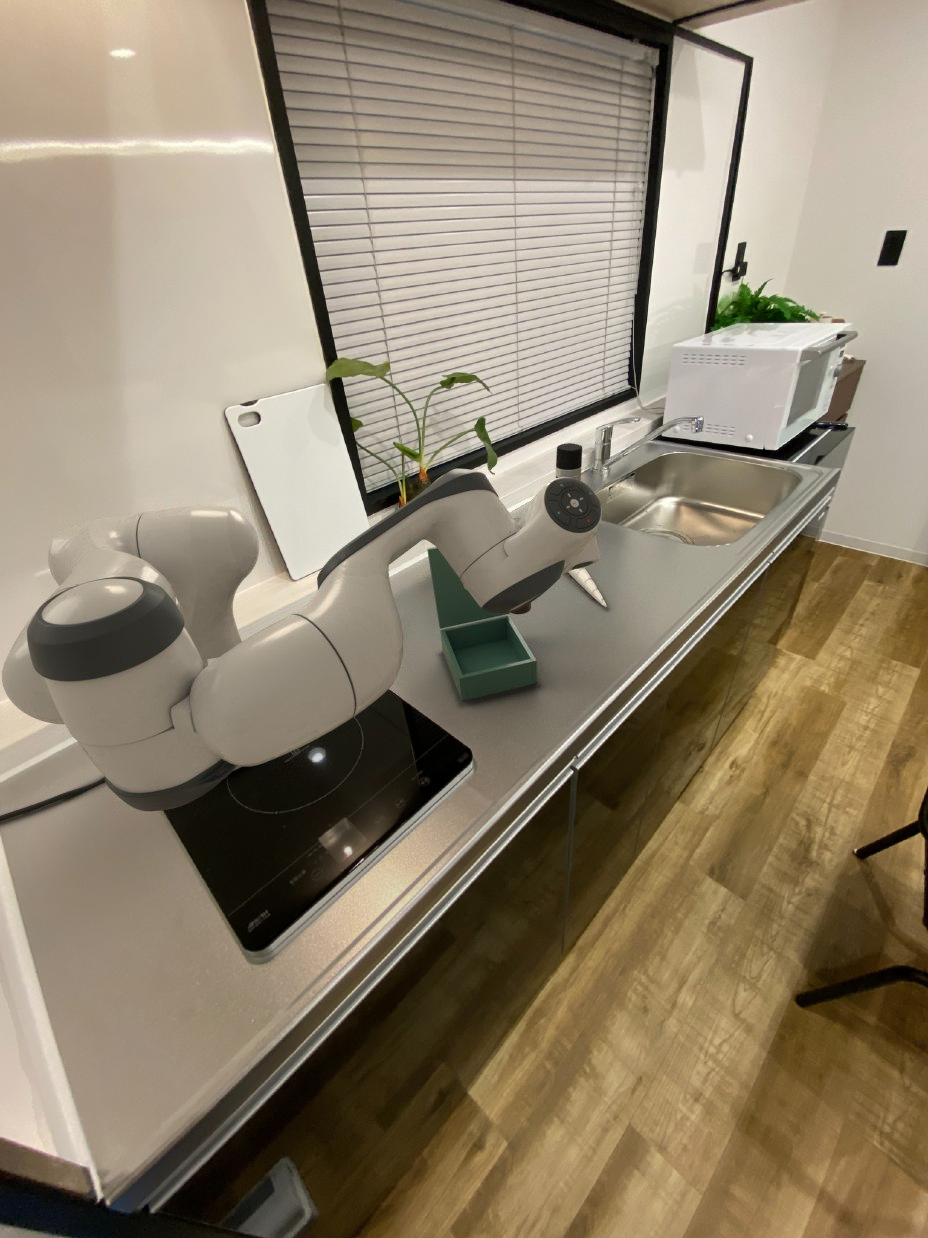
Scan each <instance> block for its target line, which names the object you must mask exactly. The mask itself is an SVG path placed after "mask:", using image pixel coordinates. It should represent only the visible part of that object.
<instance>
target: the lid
mask: <svg viewBox="0 0 928 1238" xmlns="http://www.w3.org/2000/svg"><path fill="white" fill-rule="evenodd" d="M426 551H427V557H428V558H427V559H428V563H429V570H430V571H429V572H430V576H431V583H432V589H433V596H434V603H435V608H436V615H437V621H438V627H439V629H440V630H442V629H447V628H451V627H456V626H461V625H465V624H470V623H475V622H479V621H484V620H488V619H493V618H498V617H502V616H507V615H510V614H511V613H493V612H488V611H485V610H482V609H481V607H480V606H479V605H478V603H477V602H476V601H475V599H474V598H473V597H472V595H471V594H470V593H469V591H468V590H466V589H465V588H464V586H463V583H462V582H461V580H460V578H459V577H458V575H457V574H456V573H455V571H454V570H453V568H452V567H451V566H450V564H449V563H448V562H447V560H446V559H445V558H444V556H443V555H442V553H441V552H440V551H439V549H438V548H437V547H436V546H434V547H429V548H426Z"/></svg>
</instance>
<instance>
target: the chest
mask: <svg viewBox="0 0 928 1238" xmlns="http://www.w3.org/2000/svg"><path fill="white" fill-rule="evenodd" d="M439 632H440V633H439V634H440V639H441V649H442V653H443V655H444V659H445V661H446V663H447V666H448V668H449V671H450V674H451V676H452V679H453V682H454V685H455V687H456V690H457V693H458V696H459V698H460V700H461V702H463V701H468V700H472V699H477V698H480V697H485V696H489V695H493V694H497V693H500V692H505V691H510V690H514V689H517V688H521V687H526V686H530V685H534V684H537V683H538V674H537V673H538V672H537V671H538V665H537V664H538V661H537V659H536V657H535V655H534V654H533V652H532V651H531V649H530V647H529V645H528V644H527V642H526V641H525V639H524V638H523V636H522V634H521V633H520V631H519V629H518V627H517V626H516V624H515V623H514V621H513V619H512V617H511V616H510V614H506V615H501V616H497V617H492V618H488V619H483V620H478V621H474V622H469V623H465V624H460V625H455V626H451V627H446V628H442V629H440V630H439Z"/></svg>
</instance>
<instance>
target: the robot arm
mask: <svg viewBox="0 0 928 1238" xmlns="http://www.w3.org/2000/svg"><path fill="white" fill-rule="evenodd" d="M602 517H603V510H602V505H601V502H600V499H599V497H598V496H597V494H596V493H595V492H594V491H593V489H592V488H591V487H590V486H589V485H588V484H586V483H585V482H583V481H582V480H581V481H580V480H577V479H574V478H570V477H560V478H556V477H555V478H554V479H552V480H550V481H549V482H547V484H545V485H544V486H543V487H542V488H541V489H540V490H539V491H538V492H537V493H536V494H535V496H534V497H533V498H532V499H531V501H530V502H529V503H528V505H527V506H526V507H525V509H524V510H523V513H522V515H521V517H520V518H521V519H520V521H519V522H518V523H517V522H516V520H515V519H514V518H515V517H514V516H513V515H512V513H511V512H510V511H509V510H508V509H507V507H506V505H504V503H503V502H502V500H501V499H500V497H499V495H498V493H497V491H496V490H495V488H494V487H493V485H492V483H491V481H490V480H489V478H488V477H487V475H486V474H485V473H483V472H481V471H478V470H473V469H467V468H453V469H451V470H449V471H447V472H446V473H444V474H442V475H441V476H440V477H438V478H437V479H436V480H435V481H433V482H432V483H431V484H430V485H429V486H428V487H426V488H425V489H424V490H423V491H422V492H420V493H419V494H418V495H416V496H415V497H414V498H412V499H410V500H409V501H408V502H407V503H405V504H404V505H402V506H400V507H399V508H398V509H396V510H395V511H393V512H391V513H390V514H388V515H387V516H385V517H384V518H382V519H381V520H379V521H378V522H376V523H375V524H374V525H371V526H370V527H369V528H368V529H366V530H365V531H363V532H362V533H360V534H359V535H358V536H356V537H354V538H353V539H352V540H350V541H349V542H348V543H346V544H345V545H343V546H342V547H341V548H340V549H339V550H338V551H336V552H335V553H334V554H333V555H332V556H331V557H330V558H329V559H328V561H327V562H326V563H325V564H324V565H323V567H322V568H321V570H320V571H319V573H318V575H317V577H316V583H317V585H316V586H317V592H316V593H315V595H314V596H313V597H312V598H311V600H309V602H308V603H306V604H305V605H304V606H303V607H301V608H299V609H298V610H297V611H295V612H293V613H290V614H289V615H287V616H285V617H283V618H281V619H279V620H277V621H275V622H273V623H271V624H269V625H268V626H266V627H264V628H262V629H260V630H259V631H257V632H255V633H254V634H252V635H250V636H249V637H247V638H246V639H245V638H244V640H242V638H241V635H240V633H239V629H238V627H237V623H236V619H235V616H234V600H235V596H236V593H237V591H238V588H239V587H240V585H241V584H242V582H243V581H244V580H245V579H246V578H247V577H248V576H249V575H250V574H251V573H252V571H253V570H254V569H255V567H256V564H257V562H258V559H259V555H260V540H259V536H258V533H257V530H256V528H255V527H254V525H253V523H252V522H251V520H250V519H249V517H247V516H246V514H244V513H243V512H242V511H241V510H239V509H238V508H236V507H234V506H225V505H224V506H223V505H206V504H205V505H204V504H196V505H195V504H194V505H188V506H180V507H179V506H178V507H173V508H165V509H164V508H163V509H158V510H150V511H145V512H136V513H129V514H121V515H113V516H106V517H100V518H99V517H98V518H95V519H91V520H87V521H84V522H82V523H79V524H75V525H73V526H69V527H66V528H65V529H61V530H60V531H59V530H58V531H57V533H56V534H55V535H54V536H53V538H52V540H51V541H50V544H49V548H48V552H47V563H48V568H49V571H50V574H51V575H52V577H53V579H54V581H55V582H56V583H57V585H58V587H57V589H56V590H54V591H53V593H52V594H51V595H50V596H48V597H47V599H45V600H44V602H43V603H42V604H41V605H40V606H39V607H38V608H37V610H35V612H34V613H33V614H32V615H31V617H30V618H29V620H27V622H26V623H25V625H24V627H23V628H22V629H21V631H20V632H19V634H18V635H17V637H16V639H15V641H14V642H13V644H12V645H11V648H10V650H9V652H8V654H7V656H6V657H5V661H4V662H3V667H2V670H1V683H2V687H3V690H4V692H5V694H6V696H7V698H8V699H9V700H10V702H11V703H12V704H13V705H14V706H15V707H16V708H17V709H18V710H20V711H21V712H22V713H24V714H25V715H27V716H29V717H31V718H33V719H35V720H38V721H41V722H45V723H49V724H54V725H65V726H66V728H67V730H68V732H69V733H70V735H71V737H72V738H73V739H74V740H75V741H77V742H78V744H79V746H80V748H81V749H82V751H83V752H84V753H85V754H86V756H87V757H88V759H89V760H90V761H91V763H92V764H93V765H94V766H95V767H96V768H97V769H98V770H99V772H100V774H102V775H103V777H102V778H100V779H99V780H97V781H95V782H92V783H89V784H87V785H84V786H81V787H78V788H74V789H71V790H68V791H65V792H62V793H60V794H57V795H55V796H53V797H49V798H47V799H44V800H42V801H40V802H37V803H33V804H30V805H28V806H25V807H21V808H19V809H15V810H13V811H9V812H7V813H4V814H1V815H0V822H3V821H6V820H9V819H12V818H15V817H18V816H21V815H25V814H27V813H30V812H33V811H36V810H39V809H41V808H45V807H47V806H49V805H51V804H54V803H56V802H57V803H58V802H59V801H62V800H65V799H67V798H70V797H73V796H77V795H80V794H83V793H85V792H87V791H90V790H92V789H94V788H96V787H98V786H100V785H102V784H104V783H105V785H106V786H107V788H108V789H110V790H111V792H112V793H114V795H116V796H117V798H119V799H120V801H123V802H124V803H125V804H126V805H128V806H130V807H131V808H132V809H135V810H138V811H141V812H160V811H167V810H171V809H176V808H179V807H182V806H185V805H188V804H189V803H191V802H194V801H196V800H197V799H199V798H201V797H203V796H204V795H206V794H208V792H210V791H212V790H213V789H214V788H215V787H217V786H218V785H219V784H221V782H222V781H223V780H224V779H226V778H227V777H228V776H229V775H231V773H232V772H234V771H237V770H238V769H241V768H243V767H255V766H259V765H262V764H264V763H267V762H270V761H272V760H275V759H277V758H279V757H282V756H284V755H287V754H289V753H291V752H293V751H295V750H297V749H300V748H302V747H303V746H306V745H308V744H309V743H311V742H314V741H315V740H318V739H319V738H321V737H323V736H324V735H326V734H329V733H330V732H332V731H334V730H335V729H337V728H338V727H341V725H343V724H345V723H346V722H348V721H350V720H351V719H353V718H354V717H356V716H357V715H359V714H360V713H362V712H363V711H364V710H366V709H367V708H369V706H371V705H372V704H373V703H375V702H376V701H377V700H378V699H380V698H381V697H382V696H383V695H384V694H385V693H386V692H387V691H388V690H390V688H391V687H392V686H393V685H394V683H395V681H396V680H397V678H398V675H399V673H400V670H401V666H402V662H403V658H404V657H403V656H404V630H403V624H402V621H401V617H400V614H399V611H398V608H397V604H396V601H395V598H394V595H393V591H392V585H391V581H390V571H389V569H390V568H389V567H390V565H391V564H392V563H394V562H395V561H396V560H398V559H399V558H400V557H402V556H403V555H404V554H406V553H407V552H408V551H411V549H412V548H414V547H415V546H417V545H418V544H419V543H421V542H422V541H423V540H424V541H426V542H429V543H430V544H431V545H433V546H434V547H437V548H438V549H439V551H440V552H441V553H442V555H443V556H444V558H445V559H446V560H447V562H448V563H449V564H450V566H451V567H452V568H453V570H454V571H455V573H456V574H457V575H458V577H459V578H460V580H461V582H462V583H463V586H464V588H465V589H466V590H468V591H469V593H470V594H471V595H472V597H473V598H474V599H475V601H476V602H477V603H478V605H479V606H480V607H481V609H482V610H485V611H488V612H493V613H510V614H512V612H514V611H517V610H519V609H521V608H523V607H525V606H526V605H528V604H530V603H531V604H532V602H534V601H536V600H537V599H538V598H540V597H541V596H542V595H543V594H545V593H546V592H547V591H548V590H549V589H550V588H552V587H553V586H554V585H555V583H557V582H558V581H559V580H560V579H561V577H562V576H563V575H564V574H566V573H568V571H571V570H575V569H580V568H584V567H585V568H587V567H589V566H591V565H595V564H597V563H598V562H599V561H600V560H601V554H600V549H599V545H598V541H597V538H596V533H597V532H598V530H599V528H600V525H601V522H602Z"/></svg>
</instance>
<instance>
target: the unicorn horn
mask: <svg viewBox="0 0 928 1238" xmlns="http://www.w3.org/2000/svg"><path fill="white" fill-rule="evenodd" d="M567 573H568V574H569V575H570V577H572V578H573V579H574V580H575V581H576V582H577V584H579V585H580V587H582V588H583V589H584V590H585V591H586V592H587V593H588V594H589V595H590V596H591V597H592V598H594V599H595V600H596V601H597V602H598V603H599V604H600V605H602V606H603V607H604V608H607V606H608V605H607V603H606V601H605V600H604V597H603V596H602V594H601V592H600V590H599V589H598V587H597V585H596V583H595V582H594V579H592V577H591V575H590V573H589V572H588V570H587V569H586V567H584V568H580V569H575V570H571V571H568V572H567Z"/></svg>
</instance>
